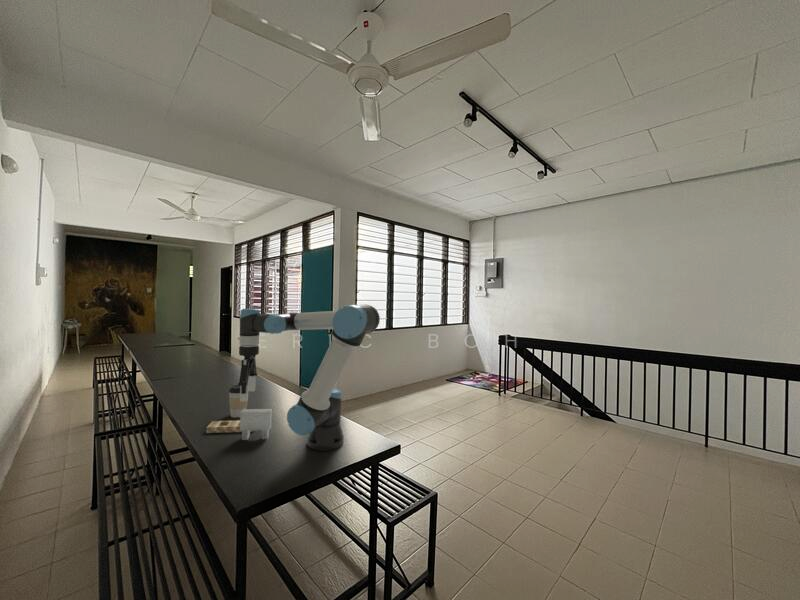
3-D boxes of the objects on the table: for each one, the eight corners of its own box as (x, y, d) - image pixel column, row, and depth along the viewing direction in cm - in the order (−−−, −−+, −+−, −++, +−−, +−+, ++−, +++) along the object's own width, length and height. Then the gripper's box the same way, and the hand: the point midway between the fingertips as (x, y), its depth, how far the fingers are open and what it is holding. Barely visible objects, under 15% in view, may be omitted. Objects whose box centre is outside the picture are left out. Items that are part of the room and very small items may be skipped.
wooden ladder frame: (258, 425, 152) (258, 419, 152) (254, 431, 145) (254, 426, 145) (212, 426, 148) (212, 421, 148) (206, 432, 141) (206, 427, 141)
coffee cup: (239, 419, 157) (240, 389, 157) (223, 417, 159) (224, 387, 159) (251, 412, 166) (252, 384, 166) (236, 410, 168) (237, 382, 168)
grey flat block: (270, 435, 142) (272, 408, 141) (269, 439, 138) (270, 411, 138) (241, 436, 139) (242, 409, 139) (239, 440, 136) (240, 412, 136)
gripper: (246, 341, 145) (245, 387, 146) (230, 350, 121) (229, 406, 121) (264, 341, 147) (263, 387, 147) (252, 350, 123) (250, 405, 123)
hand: (247, 395), depth 134 cm, fingers open, 13 cm apart
